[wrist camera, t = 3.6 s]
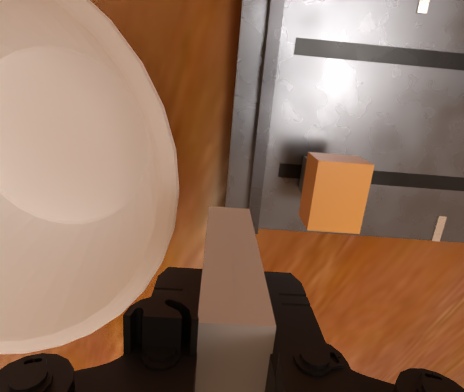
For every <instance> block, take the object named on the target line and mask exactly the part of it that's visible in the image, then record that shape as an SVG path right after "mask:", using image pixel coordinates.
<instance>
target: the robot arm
mask: <svg viewBox="0 0 464 392" xmlns="http://www.w3.org/2000/svg"><path fill="white" fill-rule="evenodd" d="M123 336H124V354H123V356H121V357H120V358H118V359H116V360H114V361H112V362H110V363H107V364H103V365H100V366H96V367H92V368H87V369H82V370H77V371H74V368H73V367H72V365H71V364H70V362H69V360H68V359H66V358H64V357H62V356H59V355H57V354H45V353H41V354H36V355H31V356H26V357H23V358H21V359H19V360H16V361H14V362H11V363H9V364H8V365H6V366H5V367H3V368H2V369H0V392H464V389H463V388H462V387H461V386H460V385H458V384H457V383H456V382H454V381H453V380H451V379H449V378H447V377H445V376H443V375H441V374H439V373H436V372H433V371H429V370H426V369H416V368H410V369H407V370H405V371H403V372H400V374H399V376H398V378H397V380H396V383H395V385H394V384H391V383H388V382H384V381H381V380H378V379H374V378H371V377H367V376H365V375H362V374H360V373H357V372H355V371H353V370H351V369H350V366H349V364H348V362H347V361H346V360H345V358H344V357H343V355H342V354H341V353H340V352H339V351H338V350H336V349H335V348H334V347H332V346H331V345H329V344H327V343H326V342H325V340H324V338H323V335H322V333H321V330H320V328H319V325H318V323H317V320H316V318H315V315H314V313H313V310H312V308H311V307H310V303H309V301H308V298H307V297H306V293H305V291H304V288H303V286H302V283H301V282H300V281H299V280H297V279H296V278H295V277H294V276H293V275H292V274H291V273H281V272H265V271H264V270H263V266H262V262H261V257H260V253H259V249H258V244H257V240H256V235H255V231H254V227H253V222H252V218H251V214H250V209H244V208H230V207H215V206H209V211H208V221H207V231H206V240H205V250H204V260H203V269H193V268H176V267H168V268H167V269H166V270H165V271H164V272H162V273H161V274H160V275H159V276H158V278H157V281H156V284H155V287H154V290H153V293H152V296H151V297H149V298H146V299H142V300H140V301H138V302H136V303H135V304H133V305H132V306H130V307H129V308H128V310H127V311H126V312H125V314H124V315H123Z"/></svg>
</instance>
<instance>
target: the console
mask: <svg viewBox="0 0 464 392" xmlns="http://www.w3.org/2000/svg"><path fill="white" fill-rule="evenodd" d="M308 152H316V153H329V154H341V155H354V156H359V157H361V158H363V159H365V160H366V161H368V162H370V163H372V164H374V170H373V175H372V179H371V184H370V188H369V193H368V198H367V202H366V207H365V211H364V216H363V221H362V225H361V230H360V234H351V233H337V232H323V231H308V230H307V229H306V227H305V226H304V224H303V222H302V220H301V219H300V217H299V215H298V214H299V208H300V201H301V195H302V194H301V192H300V191H299V190H298V188H299V181H300V175H301V168H302V162H303V156H308ZM225 207H230V208H244V209H250V214H251V218H252V222H253V227H254V231H255V234H258V228H261V229H275V230H290V231H304V232H318V233H333V234H347V235H362V236H376V237H391V238H405V239H419V240H431V241H448V242H463V243H464V0H242V1H241V14H240V26H239V38H238V50H237V62H236V74H235V87H234V99H233V111H232V123H231V135H230V147H229V160H228V172H227V184H226V196H225Z"/></svg>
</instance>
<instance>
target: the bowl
mask: <svg viewBox="0 0 464 392" xmlns="http://www.w3.org/2000/svg"><path fill="white" fill-rule="evenodd" d="M178 198H179V179H178V166H177V153H176V147H175V144H174V140H173V136H172V133H171V129H170V126H169V122H168V119H167V115H166V111H165V108H164V105H163V103H162V101H161V99H160V97H159V95H158V93H157V91H156V89H155V87H154V85H153V83H152V81H151V79H150V77H149V75H148V73H147V71H146V69H145V67H144V65H143V63H142V61H141V60H140V59H139V57H138V56H137V54H136V53H135V52H134V50H133V49H132V48H131V46H130V45H129V44H128V42H127V41H126V40H125V38H124V37H123V36H122V34H121V33H120V31H119V30H118V29H117V27H116V26H115V25H114V23H113V22H112V21H111V20H110V19H109V18H108V17H107V16H106V15H105V14H104V13H103V12H102V11H101V10H100V9H99V8H98V7H97V6H96V5H95V4H94V3H93V2H92V1H90V0H0V354H22V353H30V352H35V351H40V350H44V349H49V348H54V347H59V346H62V345H64V344H67V343H69V342H72V341H74V340H77V339H79V338H82V337H84V336H87V335H89V334H91V333H93V332H94V331H96V330H97V329H99V328H101V327H102V326H104V325H105V324H107V323H108V322H110V321H111V320H113V319H114V318H116V317H117V316H119V315H120V314H122V313H123V312H124V311H125V310H126V309H127V308H128V307H129V306H130V305H131V304H132V303H133V302H134V301H135V300H136V299H137V298H138V297H139V296H140V295H141V294H142V293H143V292H144V290H145V289H146V287H147V286H148V284H149V283H150V281H151V279H152V278H153V276H154V275H155V273H156V272H157V270H158V268H159V267H160V265H161V264H162V262H163V259H164V257H165V254H166V251H167V248H168V245H169V243H170V240H171V237H172V234H173V232H174V229H175V221H176V214H177V206H178Z"/></svg>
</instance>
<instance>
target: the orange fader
mask: <svg viewBox="0 0 464 392" xmlns="http://www.w3.org/2000/svg"><path fill="white" fill-rule="evenodd" d="M373 170H374V164H372V163H370V162H368V161H366V160H365V159H363V158H361V157H359V156H354V155H341V154H329V153H316V152H308V156H303V162H302V168H301V175H300V181H299V188H298V190H299V191H300V192H301V194H302V195H301V201H300V208H299V214H298V215H299V217H300V219H301V220H302V222H303V224H304V226H305V227H306V229H307V230H308V231H323V232H337V233H351V234H360V230H361V225H362V221H363V216H364V211H365V207H366V202H367V198H368V193H369V188H370V184H371V179H372V175H373Z"/></svg>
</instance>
